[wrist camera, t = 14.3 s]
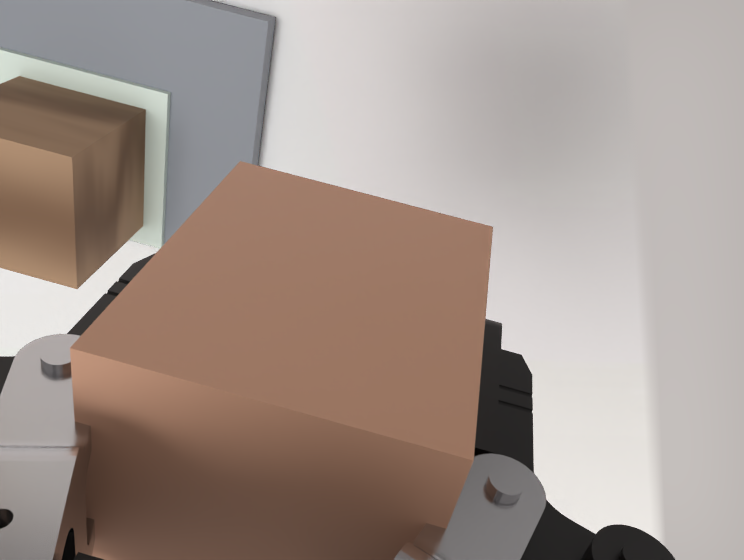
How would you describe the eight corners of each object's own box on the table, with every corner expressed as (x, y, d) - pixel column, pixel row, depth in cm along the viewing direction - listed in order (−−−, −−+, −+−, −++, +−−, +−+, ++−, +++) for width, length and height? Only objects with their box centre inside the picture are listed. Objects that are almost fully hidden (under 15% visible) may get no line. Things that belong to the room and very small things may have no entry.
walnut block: (19, 75, 31) (-79, 117, 26) (145, 109, 31) (72, 157, 26) (28, 194, 34) (-57, 251, 29) (143, 225, 34) (77, 289, 29)
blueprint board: (-124, -86, 30) (-149, -84, 29) (275, 17, 29) (265, 23, 28) (-82, 167, 36) (-101, 176, 35) (246, 257, 35) (237, 270, 34)
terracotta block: (240, 161, 13) (69, 347, 8) (493, 227, 13) (473, 459, 8) (222, 357, 16) (85, 585, 11) (430, 414, 16) (387, 676, 11)
